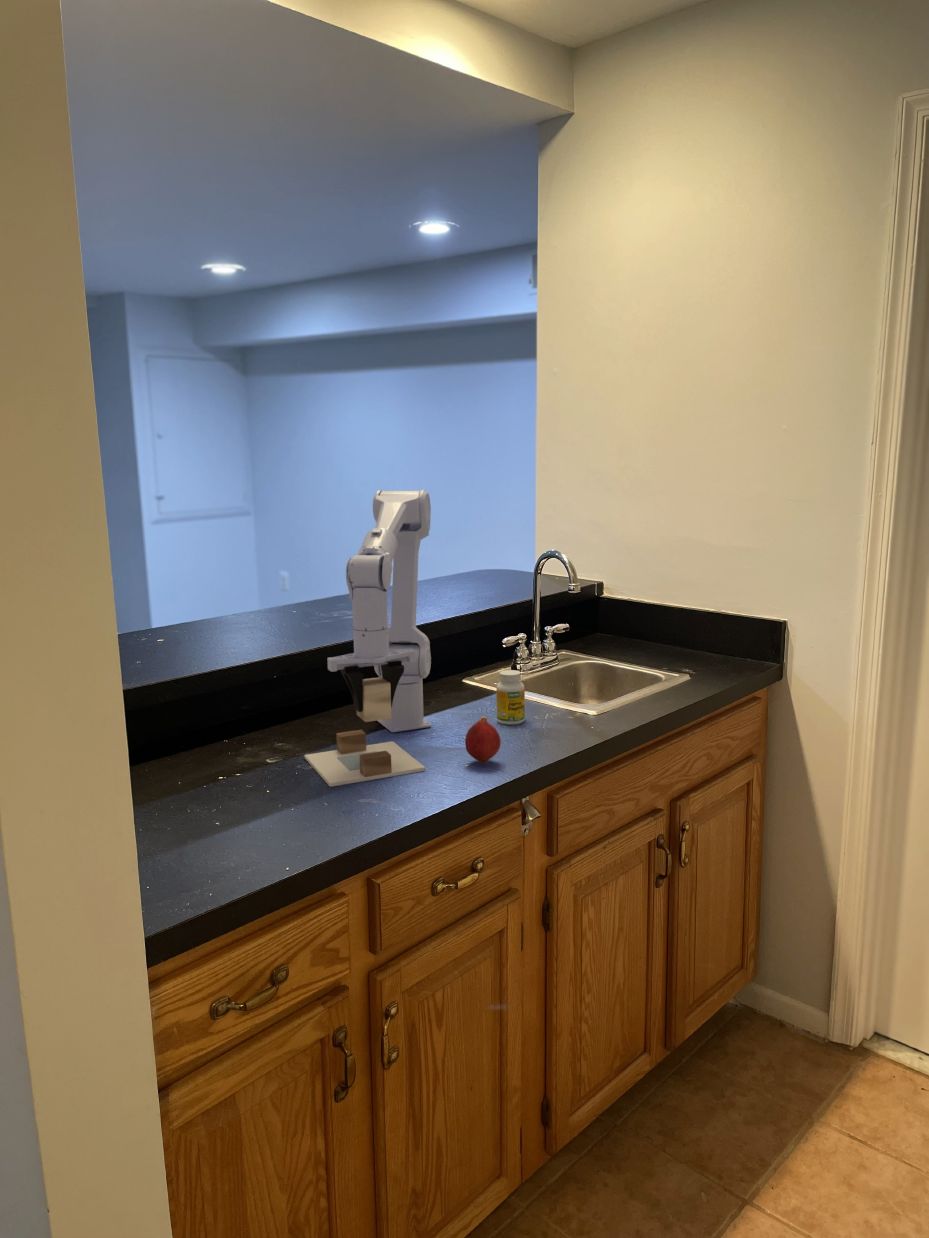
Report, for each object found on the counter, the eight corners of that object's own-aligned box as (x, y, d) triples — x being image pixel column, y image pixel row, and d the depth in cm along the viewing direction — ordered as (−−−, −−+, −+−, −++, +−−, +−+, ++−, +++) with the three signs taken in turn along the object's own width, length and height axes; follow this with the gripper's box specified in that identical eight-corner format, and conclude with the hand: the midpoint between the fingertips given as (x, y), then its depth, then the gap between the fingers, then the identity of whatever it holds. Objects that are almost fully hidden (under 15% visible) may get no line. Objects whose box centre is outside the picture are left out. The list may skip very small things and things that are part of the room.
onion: (475, 771, 152) (475, 724, 150) (459, 761, 157) (458, 715, 155) (506, 765, 154) (506, 718, 153) (489, 755, 159) (489, 710, 158)
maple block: (356, 715, 157) (355, 680, 156) (382, 711, 159) (381, 677, 157) (365, 721, 153) (364, 686, 152) (391, 718, 155) (390, 683, 153)
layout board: (304, 758, 159) (304, 754, 159) (393, 744, 166) (392, 740, 166) (329, 786, 146) (329, 782, 146) (424, 770, 152) (424, 766, 152)
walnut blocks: (337, 749, 162) (336, 733, 161) (361, 746, 163) (361, 729, 163) (364, 777, 148) (364, 759, 148) (391, 772, 150) (391, 754, 150)
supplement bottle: (513, 715, 182) (513, 667, 181) (530, 722, 178) (530, 673, 176) (491, 720, 179) (490, 671, 178) (507, 727, 175) (507, 677, 173)
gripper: (335, 636, 146) (338, 720, 149) (421, 627, 152) (423, 708, 155) (322, 628, 153) (325, 709, 155) (405, 620, 159) (407, 698, 161)
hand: (373, 708), depth 155 cm, fingers closed on maple block, 4 cm apart
